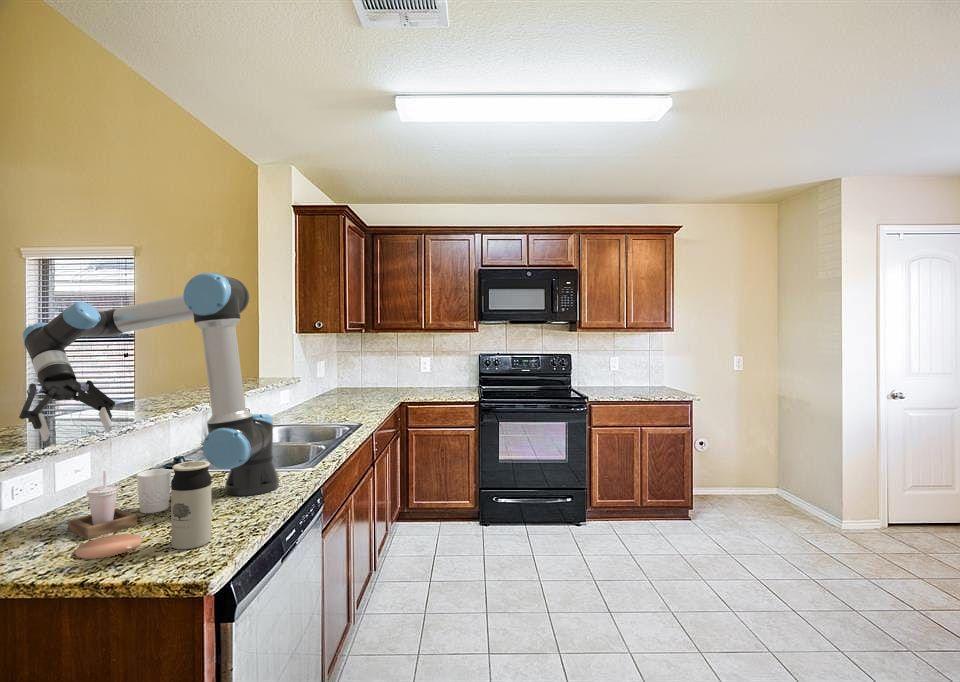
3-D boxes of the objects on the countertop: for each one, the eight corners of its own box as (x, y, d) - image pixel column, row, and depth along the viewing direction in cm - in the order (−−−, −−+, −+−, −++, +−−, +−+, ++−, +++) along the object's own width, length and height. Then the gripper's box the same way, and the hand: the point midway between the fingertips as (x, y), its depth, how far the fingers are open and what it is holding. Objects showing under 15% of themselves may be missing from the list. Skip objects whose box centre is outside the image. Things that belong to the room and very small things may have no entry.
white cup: (177, 507, 142) (177, 471, 142) (146, 516, 135) (146, 478, 135) (161, 502, 146) (161, 467, 146) (131, 511, 139) (130, 474, 139)
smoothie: (102, 534, 123) (101, 475, 123) (79, 532, 124) (79, 473, 124) (125, 524, 129) (125, 468, 129) (104, 522, 131) (103, 467, 131)
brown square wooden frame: (116, 517, 134) (116, 508, 134) (137, 525, 129) (136, 515, 129) (68, 530, 125) (68, 520, 125) (88, 539, 120) (88, 528, 120)
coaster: (151, 535, 122) (151, 532, 122) (125, 557, 110) (125, 553, 110) (95, 538, 120) (95, 535, 120) (62, 561, 108) (62, 557, 108)
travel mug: (194, 534, 123) (194, 459, 123) (219, 539, 120) (219, 462, 120) (163, 547, 116) (162, 466, 116) (188, 552, 113) (188, 470, 113)
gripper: (102, 377, 152) (127, 434, 144) (-11, 383, 130) (12, 451, 123) (111, 360, 149) (138, 417, 141) (-3, 363, 128) (21, 431, 120)
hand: (79, 433), depth 132 cm, fingers open, 13 cm apart
